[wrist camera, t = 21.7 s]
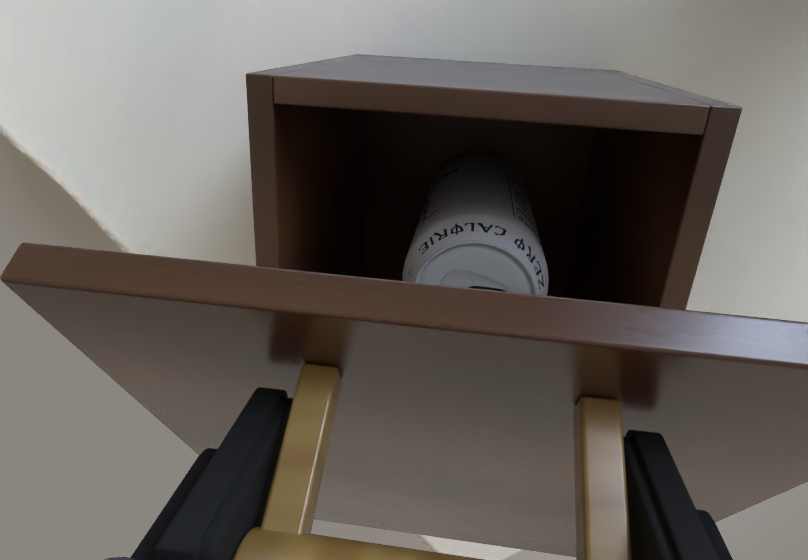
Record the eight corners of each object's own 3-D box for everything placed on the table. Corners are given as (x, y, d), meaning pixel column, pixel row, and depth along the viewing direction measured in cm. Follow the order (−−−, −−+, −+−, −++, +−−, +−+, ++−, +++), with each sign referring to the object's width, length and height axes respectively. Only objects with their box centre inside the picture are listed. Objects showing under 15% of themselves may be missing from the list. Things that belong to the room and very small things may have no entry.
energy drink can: (435, 144, 35) (404, 216, 21) (535, 156, 34) (568, 237, 21) (425, 237, 37) (390, 355, 24) (517, 249, 37) (537, 377, 23)
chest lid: (20, 239, 10) (-204, 596, 7) (996, 339, 8) (1236, 848, 5) (267, 492, 25) (230, 634, 22) (621, 543, 24) (631, 702, 21)
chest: (356, 54, 34) (244, 73, 18) (618, 70, 33) (743, 107, 17) (351, 317, 41) (268, 494, 26) (566, 341, 40) (619, 544, 24)
